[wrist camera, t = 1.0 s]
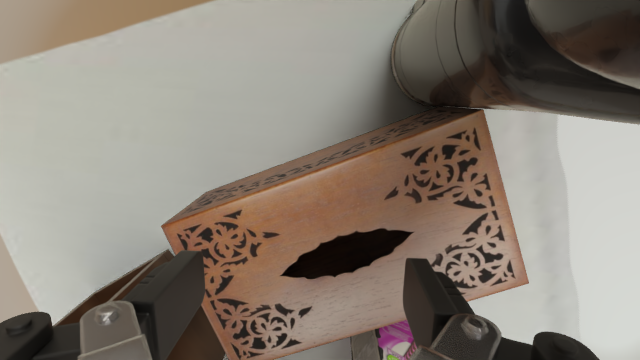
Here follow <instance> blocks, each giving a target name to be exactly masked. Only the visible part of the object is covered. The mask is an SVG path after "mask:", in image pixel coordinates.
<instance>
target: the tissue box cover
mask: <svg viewBox="0 0 640 360" xmlns="http://www.w3.org/2000/svg"><path fill="white" fill-rule="evenodd" d="M161 227H162V229H163V231H164V233H165V235H166V237H167V239H168V241H169V243H170V245H171V247H172V249H173V251H174V253H175V255H177V254H178V253H179V252H180V251H181V250H189V251H201V252H202V254H203V261H204V276H205V295H204V299H203V302H202V304H201V306H202V308H203V310H204V312H205V314H206V316H207V318H208V320H209V322H210V324H211V326H212V328H213V329H214V331H215V333H216V335H217V337H218V339H219V341H220V343H221V345H222V347H223V349H224V351H225V353H226V355H227V357H228V359H229V360H274V359H277V358H280V357H284V356H287V355H290V354H294V353H297V352H300V351H304V350H307V349H310V348H314V347H317V346H320V345H324V344H327V343H330V342H334V341H337V340H340V339H344V338H347V337H351V336H354V335H357V334H361V333H364V332H367V331H371V330H374V329H377V328H381V327H384V326H387V325H391V324H394V323H397V322H401V321H404V320H407V318H406V315H405V312H404V308H403V285H404V273H405V263H406V259H407V258H426V259H428V261H429V263H430V264H431V266H432V268H433V269H434V271H436V272H443V273H444V274H445V275H447V276H448V277H450V278H451V279H452V280H453V282H454V283H455V285H456V286H457V289H459V291H460V292H461V294H462V296H463V297H464V298H465V300H466V301H467V302H468V301H471V300H474V299H478V298H481V297H484V296H488V295H491V294H494V293H498V292H501V291H505V290H508V289H511V288H515V287H518V286H521V285H525V284H528V283H529V281H528V278H527V274H526V270H525V266H524V262H523V259H522V255H521V251H520V247H519V243H518V239H517V236H516V232H515V228H514V224H513V220H512V217H511V213H510V209H509V205H508V201H507V198H506V194H505V190H504V186H503V182H502V178H501V175H500V171H499V167H498V163H497V159H496V156H495V152H494V148H493V144H492V140H491V137H490V133H489V129H488V125H487V121H486V118H485V114H484V110H483V109H470V108H457V107H443V106H442V107H436V108H433V109H431V110H428V111H425V112H422V113H420V114H417V115H414V116H412V117H409V118H406V119H403V120H401V121H398V122H395V123H393V124H390V125H387V126H384V127H382V128H379V129H376V130H374V131H371V132H368V133H365V134H363V135H360V136H357V137H355V138H352V139H349V140H346V141H344V142H341V143H338V144H336V145H333V146H330V147H327V148H325V149H322V150H319V151H317V152H314V153H311V154H308V155H306V156H303V157H300V158H298V159H295V160H292V161H289V162H287V163H284V164H281V165H279V166H276V167H273V168H270V169H268V170H265V171H262V172H260V173H257V174H254V175H251V176H249V177H246V178H243V179H241V180H238V181H235V182H232V183H230V184H227V185H224V186H222V187H219V188H216V189H213V190H211V191H208V192H206V193H204V194H203V195H202V196H200V197H199V198H198V199H196V200H195V201H194V202H192V203H191V204H190V205H188V206H187V207H186V208H184V209H183V210H182V211H180V212H179V213H178V214H176V215H175V216H174V217H172V218H171V219H170V220H168V221H167V222H166V223H164V224H163V225H162V226H161Z"/></svg>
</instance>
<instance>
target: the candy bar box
mask: <svg viewBox="0 0 640 360" xmlns="http://www.w3.org/2000/svg"><path fill="white" fill-rule="evenodd" d="M350 339H351V352H352V360H408V359H409V358H410V357H411V355H412V354H413V353H414V351H415V350H416V349H417V347H416V345H415V342H414V339H413V336H412V333H411V330H410V327H409V324H408V321H407V320H404V321H401V322H397V323H394V324H391V325H387V326H384V327H381V328H377V329H374V330H371V331H367V332H364V333H361V334H357V335H354V336H351V337H350Z"/></svg>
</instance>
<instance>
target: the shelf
mask: <svg viewBox="0 0 640 360" xmlns="http://www.w3.org/2000/svg"><path fill="white" fill-rule="evenodd" d="M173 258H174V256H173V255H172V254H171V252H170V251H169V250H166V251H164V252H163V253H161V254H159V255H157V256H156V257H154V258H152V259H151V260H149V261H147V262H145V263H144V264H142V265H140V266H139V267H137V268H135V269H133V270H132V271H130V272H128V273H127V274H125V275H123V276H122V277H120V278H118V279H116V280H115V281H113V282H111V283H110V284H108V285H106V286H104V287H103V288H101V289H99V290H98V291H96V292H94V293H93V294H91V295H90V296H89V297H88V298H87V299H85V300H84V301H83V302H82V303H80V304H79V305H78V306H77V307H76V308H74V309H73V310H72V311H71V312H69V313H68V314H67V315H66V316H65V317H63V318H62V319H61V320H60V321H58V322H57V323H56V324H55V325H53V326H59V325H66V324H72V323H78V322H80V319H81V317H82V316H83V315H84V314H85V313H86V312H87V311H89V310H90V309H92V308H94V307H96V306H98V305H101V304H104V303H107V302H111V301H120V300H121V299H123V298H124V297H125V296H126V295H127V294H128V293H129V292H130V291H131V290H132V289H133V288H134V287H135V286H136V285H137V284H139V283H140V281H141V280H142V279H144V278H145V277H146V276H147V275H148V274H149V273H150V272H151V271H152V270H153V269H154V268H156V267H158V266H160V265H162V264H164V263H165V262H170V261H171V260H172V259H173ZM53 326H52V327H53ZM224 355H225V351H224V349H223V347H222V345H221V343H220V341H219V339H218V337H217V335H216V333H215V331H214V329H213V328H212V326H211V324H210V322H209V320H208V318H207V316H206V314H205V312H204V310H203V308H202V306H200V307H199V309H198V310H197V312H196V313H195V315H194V317H193V318H192V320H191V321H190V323H189V324H188V326H187V328H186V329H185V331H184V332H183V334H182V335H181V337H180V339H179V340H178V342H177V343H176V345H175V346H174V348H173V350H172V351H171V353H170V354H169V356H168V357H167V359H166V360H223V357H224Z"/></svg>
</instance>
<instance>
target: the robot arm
mask: <svg viewBox="0 0 640 360" xmlns="http://www.w3.org/2000/svg"><path fill="white" fill-rule="evenodd" d="M391 66H392V72H393V75H394V78H395V80H396V82H397V84H398V86H399V87H400V88H401V90H402V91H403V92H404V93H405V94H406V95H407V96H408V97H409V98H411V99H412V100H414V101H416V102H418V103H420V104H423V105H427V106H435V107H442V106H451V107H467V108H484V109H501V110H517V111H531V112H543V113H552V114H560V115H568V116H576V117H584V118H592V119H599V120H607V121H615V122H623V123H631V124H640V0H417V1H416V2H415V4H414V9H413V13H412V15H411V16H410V17H409V18H408V19H407V20H406V21H405V22H404V23H403V25H402V26H401V27H400V29H399V31H398V32H397V35H396V37H395V39H394V42H393V46H392V51H391ZM204 295H205V276H204V261H203V254H202V252H201V251H189V250H181V251H180V252H179V253H178V254H177V255H176V256H175V257H174V258H173V259H172V260H171V261H170V262H165V263H164V264H162V265H160V266H158V267H156V268H154V269H153V270H152V271H151V272H150V273H149V274H148V275H147V276H146V277H145V278H144V279H142V280H141V281H140V283H139V284H137V285H136V286H135V287H134V288H133V289H132V290H131V291H130V292H129V293H128V294H127V295H126V296H125V297H124V298H123V299H121V300H120V301H111V302H107V303H104V304H101V305H98V306H96V307H94V308H92V309H90V310H89V311H87V312H86V313H85V314H84V315H83V316H82V317H81V319H80V322H78V323H72V324H66V325H59V326H53V327H52V322H51V317H50V315H49V314H48V313H45V312H31V313H26V314H22V315H18V316H15V317H13V318H10V319H8V320H6V321H3V322H2V323H0V360H166V359H167V357H168V356H169V354H170V353H171V351H172V350H173V348H174V346H175V345H176V343H177V342H178V340H179V339H180V337H181V335H182V334H183V332H184V331H185V329H186V328H187V326H188V324H189V323H190V321H191V320H192V318H193V317H194V315H195V313H196V312H197V310H198V309H199V307H200V306H201V304H202V302H203V299H204ZM403 308H404V312H405V315H406V318H407V321H408V324H409V327H410V330H411V333H412V336H413V339H414V342H415V345H416V347H417V349H416V350H415V351H414V353H413V354H412V355H411V357H410V358H409V359H408V360H599V359H598V358H597V357H596V355H595V354H594V353H593V352H592V351H591V350H590V349H589V348H587V347H586V346H585V345H583V344H582V343H580V342H579V341H577V340H575V339H573V338H571V337H568V336H566V335H562V334H559V333H554V332H541V333H538V334H536V335H535V337H534V340H533V345H530V344H526V343H522V342H517V341H513V340H510V339H506V338H503V337H501V332H500V330H499V328H498V327H497V326H496V325H495V324H494V323H492V322H491V321H489V320H488V319H486V318H483V317H481V316H478V315H475V313H474V312H473V310H472V309H471V307H470V306H469V304H468V303H467V301H466V300H465V298H464V297H463V296H462V294H461V292H460V291H459V289H457V286H456V285H455V283H454V282H453V280H452V279H451V278H450V277H448V276H447V275H445V274H444V273H443V272H436V271H434V269H433V268H432V266H431V264H430V263H429V261H428V259H426V258H407V259H406V263H405V273H404V285H403Z"/></svg>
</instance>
